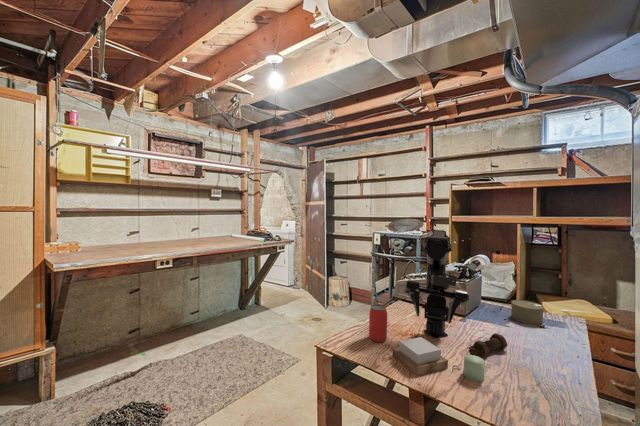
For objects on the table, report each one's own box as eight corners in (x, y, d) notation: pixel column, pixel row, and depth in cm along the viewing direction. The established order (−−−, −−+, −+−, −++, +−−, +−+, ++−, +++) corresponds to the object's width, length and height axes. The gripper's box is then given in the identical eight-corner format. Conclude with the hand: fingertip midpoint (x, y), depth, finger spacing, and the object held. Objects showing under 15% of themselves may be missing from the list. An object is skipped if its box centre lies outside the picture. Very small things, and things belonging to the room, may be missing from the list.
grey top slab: (420, 345, 100) (421, 337, 100) (440, 359, 92) (441, 349, 91) (399, 350, 97) (399, 341, 96) (417, 364, 88) (417, 354, 88)
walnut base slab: (421, 351, 102) (421, 342, 102) (447, 369, 91) (448, 360, 91) (392, 357, 98) (392, 348, 97) (416, 377, 86) (417, 367, 86)
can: (506, 313, 139) (506, 298, 138) (534, 315, 136) (535, 301, 136) (517, 323, 127) (518, 307, 127) (549, 326, 125) (549, 310, 124)
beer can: (386, 343, 106) (387, 311, 105) (368, 341, 107) (369, 309, 106) (386, 335, 112) (387, 305, 112) (369, 333, 113) (369, 303, 113)
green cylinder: (472, 369, 90) (473, 353, 90) (488, 379, 85) (489, 362, 85) (459, 372, 88) (459, 356, 88) (474, 383, 83) (475, 366, 83)
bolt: (469, 361, 98) (497, 350, 105) (482, 360, 94) (510, 349, 101) (462, 343, 101) (490, 333, 107) (474, 341, 97) (502, 331, 103)
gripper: (411, 257, 91) (406, 307, 84) (475, 269, 88) (475, 322, 81) (405, 269, 101) (401, 314, 94) (463, 280, 97) (462, 328, 90)
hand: (433, 319), depth 89 cm, fingers open, 9 cm apart
